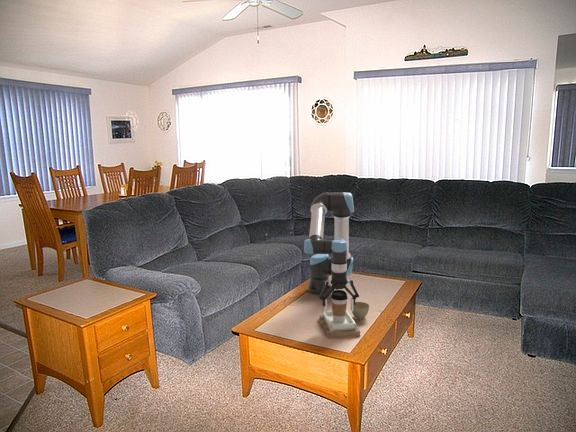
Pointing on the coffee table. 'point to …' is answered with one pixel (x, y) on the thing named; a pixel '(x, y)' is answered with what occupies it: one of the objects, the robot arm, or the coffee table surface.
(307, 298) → the coffee table surface
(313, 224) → the robot arm
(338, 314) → the coffee cup
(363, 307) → the flower pot
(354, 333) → the shelf board
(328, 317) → the tray
